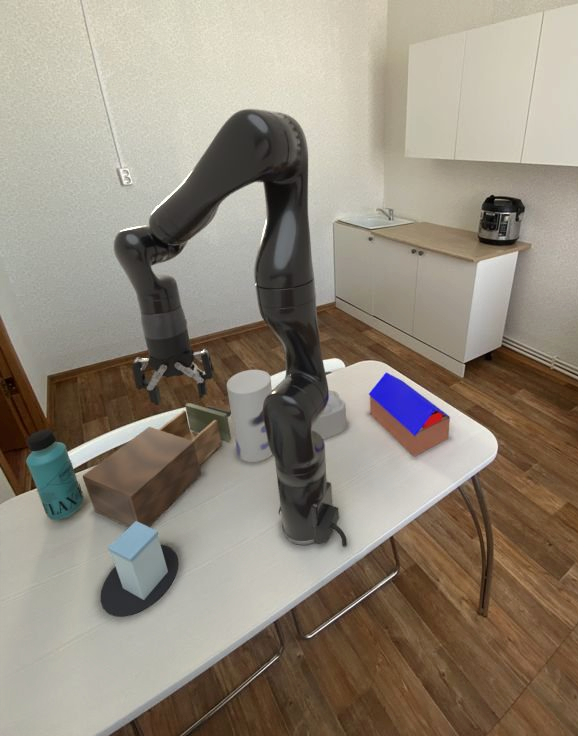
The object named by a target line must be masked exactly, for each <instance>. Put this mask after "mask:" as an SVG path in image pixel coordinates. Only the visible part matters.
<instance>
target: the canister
mask: <svg viewBox="0 0 578 736" xmlns="http://www.w3.org/2000/svg"><path fill="white" fill-rule="evenodd" d="M160 544H161V541H160V538H159V530H156V529H154V528H152V527H151V526H150V527H148V526H146V525H143V524H141V523H139V522H137V521H135V522H134V523H133V524H132V525H131V526H130V527H129V528H128V527H127V529H126V530H125V531H124V532H123V533H121V535H120V536H119V537H117V538H116V540H115V541H113V542H112V543H111V544H110V545H109V546H108V547H107V549H108V550H107V551H108V552H109V553H110V555H111V558H112V561H113V564H114V567H116V569H117V572H118V575H119V578H120V581H121V584H122V587H123V589H125V590H127V591H129V592H130V593H132V594H134V595H136V596H137V597H139V598H141V599H143V600H144V599H145V598H146V597H147V596H148V595H149V594H150V592H151V591H152V590H153V589H154V588H155V586H156V585H157V584H158V583H159V582H160V581H161V579H162V578H163V577H164V576H165V575H166V574H167V572H168V570H167V566H166V563H165V559H164V555H163V552H162V548H161V545H162V544H161V545H160Z"/></svg>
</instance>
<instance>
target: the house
mask: <svg viewBox="0 0 578 736" xmlns="http://www.w3.org/2000/svg"><path fill="white" fill-rule="evenodd" d="M368 395H369V414H370V416H371V417H372V418H374V419H375V420H376V421H377V422H378V423H379V425H381V426H382V427H383V428H384V430H386V431H387V432H388V433H389V434H390V435H391V436H392V437H393V438H395V441H397V442H398V443H399V444H400V445H402V447H403V448H405V450H407V452H408V453H409V454H411V455H412V456H413V457H416V456H419V455H420V454H423V453H424V452H426V451H428V450H429V449H431V448H434V447H436V446H438V445H440V444H441V443H443V442H445V441H447V440H448V439H449V434H450V420H451V416H450V415H449V414H447V413H446V412H445V411H444V410H442V409H441V408H439V407H438V406H436V404H434V403H433V402H431V401H430V400H429V399H427V398H426V397H424V395H422V394H421V393H419V392H418V391H417V390H415V389H414V388H412V387H411V386H410V385H409V384H407V383H406V382H405V381H404V380H402V379H400V378H398V377H396V376H395V375H392V374H390V373H389V372H385V373H384V374H383V375H382V377H381V378H380V379H379V380H378V381H377V383H376V384H375V385H374V386H373V388H372V389H371V391H370V392H369V393H368Z"/></svg>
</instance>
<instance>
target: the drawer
mask: <svg viewBox="0 0 578 736" xmlns="http://www.w3.org/2000/svg"><path fill="white" fill-rule="evenodd" d="M184 406H185V410H182V411H180V412H179V413H178V414H177V415H175V416H174V417H173V418H171V419H170V420H169V421H167V422H166V423H165V424H163V425H162V426H160V427H159V428H157V429H158V430H161V431H164V432H167V433H170V434H173V435H176V436H179V437H182V438H185V439H188V440H191V441H194V444H195V449H196V454H197V458H198V463H199V466H200V465H202V463H204V461H206V460H207V459H208V458H209V457H210V456H211V455H212V454H213V453H214V452H215V451H216V450H217V449H218V448H219V447H220V446H221V445H222V441H223V442H227V443H229V442H230V441H231V440H232V436H231V435H232V434H231V430H230V423H229V418H230V417H231V410H227V409H223V408H220V407H216V406H212V405H208V406H207V407H204V406H201V405H197V404H194V403H191V402H188V403H186V404H185V405H184Z"/></svg>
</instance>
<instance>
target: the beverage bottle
mask: <svg viewBox="0 0 578 736" xmlns="http://www.w3.org/2000/svg"><path fill="white" fill-rule="evenodd" d="M26 441H27V446H28V447H27V448H28V449H29V451H30V453H29V455H28V456H27V457H26V459H25V463H26V465H27V467H28V469H29V472H30V475H31V477H32V480H33V482H34V485H35V487H36V492H37V493H38V497H39V500H40V503H41V505H42V507H43V511H44V512H45V514H46V517H47V518H49V519H50V520H52V521H59V520H60V521H61V520H63V519H66V518H68V517H70V516H72V515H73V514H75V513H76V512H77V511H78V510H79V509H80V508H81V507H82V505H83V503H84V494H83V491H82V488H81V487H82V486H81V483H79V480H78V478H77V475H76V472H75V468H74V465H73V462H72V460H71V459H70V455H69V452H68V449H67V445H66V444H65V443H63V442H60V441H57V437H56V435H55V434H54V431H53V430H52V429H49V428H48V429H47V428H46V429H40V430H37V431H36V432H34V433H32V434H31V435H29V437H28V438H27V440H26Z"/></svg>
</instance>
